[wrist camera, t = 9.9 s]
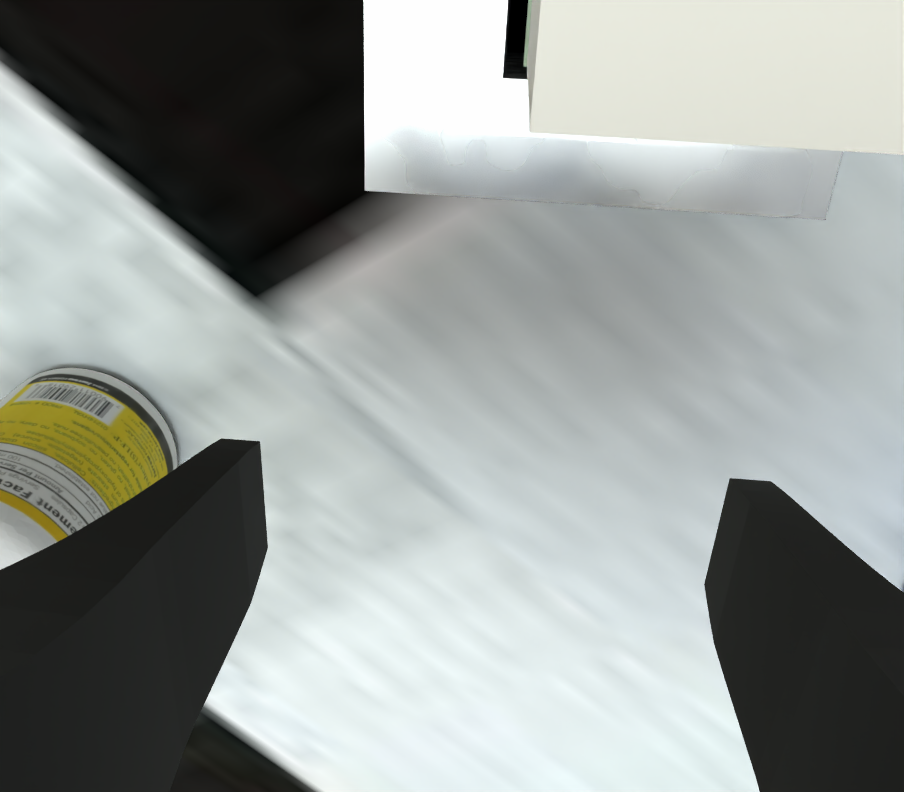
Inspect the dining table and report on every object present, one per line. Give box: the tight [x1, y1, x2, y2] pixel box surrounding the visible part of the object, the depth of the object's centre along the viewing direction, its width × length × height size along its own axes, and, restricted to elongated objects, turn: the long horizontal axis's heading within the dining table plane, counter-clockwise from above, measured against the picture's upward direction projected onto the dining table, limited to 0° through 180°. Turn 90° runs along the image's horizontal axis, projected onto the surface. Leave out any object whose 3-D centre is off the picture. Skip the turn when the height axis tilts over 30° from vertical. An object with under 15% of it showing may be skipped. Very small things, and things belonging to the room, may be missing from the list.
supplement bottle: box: [0, 368, 177, 570], centre depth 21 cm, size 5×5×10 cm
